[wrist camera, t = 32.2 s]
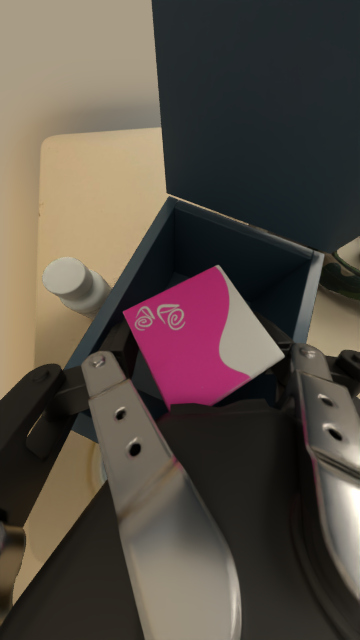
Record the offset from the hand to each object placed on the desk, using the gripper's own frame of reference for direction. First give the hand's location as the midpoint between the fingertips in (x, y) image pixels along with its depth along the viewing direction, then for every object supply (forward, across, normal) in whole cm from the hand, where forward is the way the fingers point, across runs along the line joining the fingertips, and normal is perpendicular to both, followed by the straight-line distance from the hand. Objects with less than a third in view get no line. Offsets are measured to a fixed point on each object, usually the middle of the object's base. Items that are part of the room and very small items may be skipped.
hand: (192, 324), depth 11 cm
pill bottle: (+10, -10, -3) cm, 14 cm away
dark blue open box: (+6, +1, -6) cm, 9 cm away
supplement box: (+5, 0, -6) cm, 8 cm away
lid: (-3, +4, +12) cm, 13 cm away
